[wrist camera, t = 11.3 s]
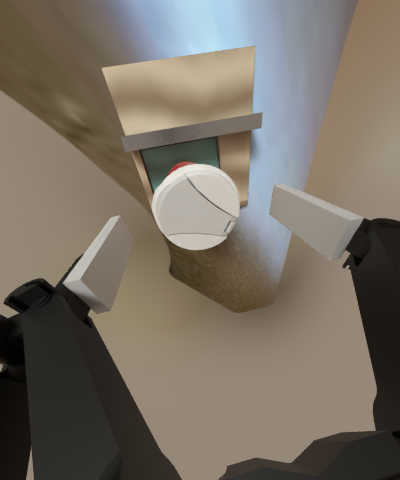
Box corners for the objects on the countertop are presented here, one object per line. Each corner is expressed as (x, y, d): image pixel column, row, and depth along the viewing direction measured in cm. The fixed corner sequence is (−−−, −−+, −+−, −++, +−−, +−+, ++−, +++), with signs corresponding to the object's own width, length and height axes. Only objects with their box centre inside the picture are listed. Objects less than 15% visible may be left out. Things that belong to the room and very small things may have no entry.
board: (104, 70, 17) (101, 67, 16) (252, 49, 18) (255, 45, 17) (157, 221, 29) (157, 223, 28) (245, 203, 30) (247, 204, 29)
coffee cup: (217, 166, 25) (263, 190, 12) (198, 209, 28) (219, 261, 16) (168, 142, 22) (166, 144, 10) (154, 194, 26) (140, 243, 13)
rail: (126, 137, 20) (120, 136, 18) (251, 115, 21) (262, 112, 19) (131, 150, 21) (125, 151, 19) (251, 129, 22) (261, 128, 20)
